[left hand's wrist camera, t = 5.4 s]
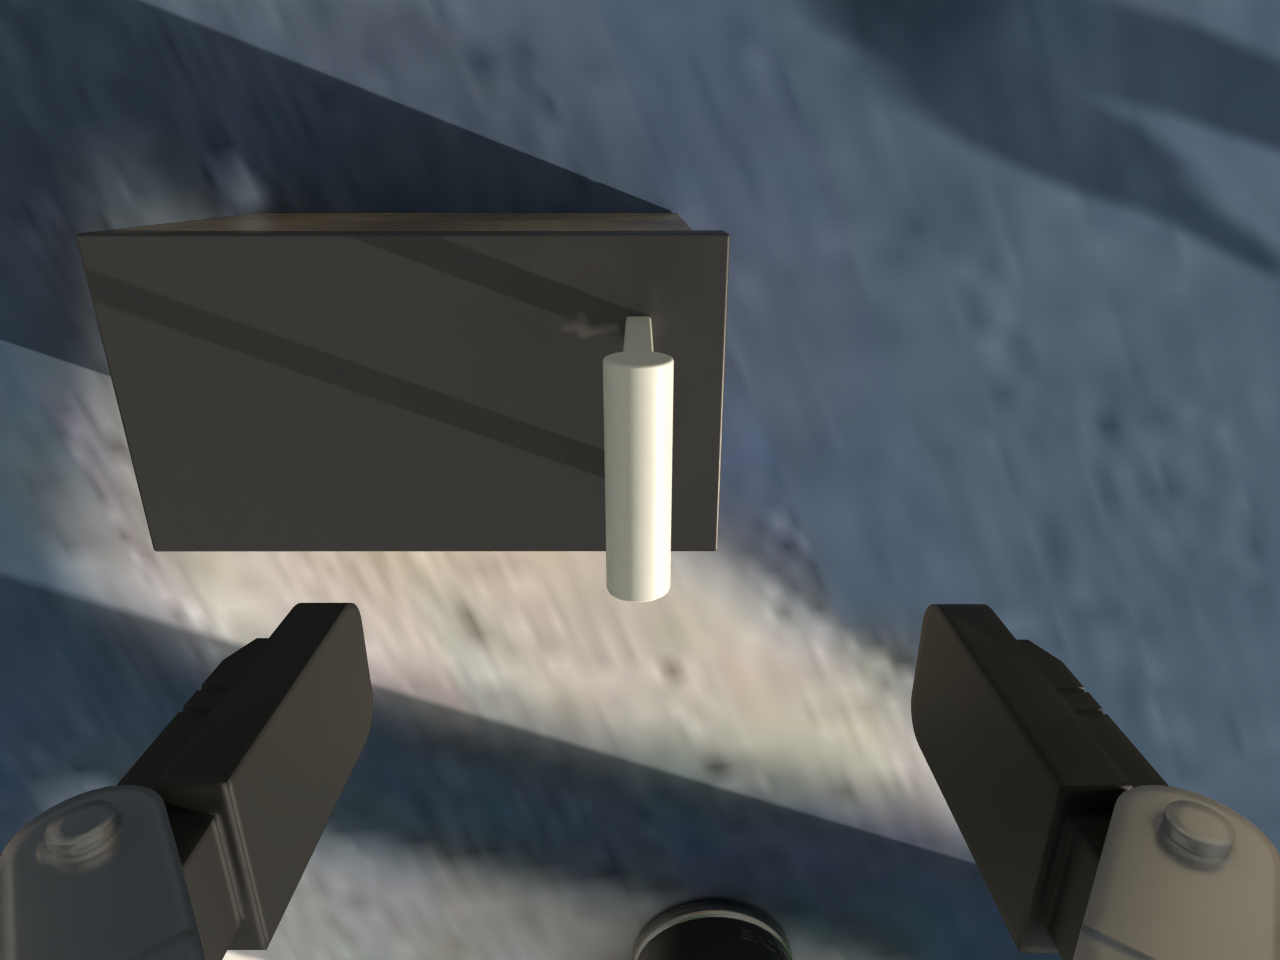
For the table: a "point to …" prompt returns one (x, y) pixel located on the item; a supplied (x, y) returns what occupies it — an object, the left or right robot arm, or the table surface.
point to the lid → (422, 389)
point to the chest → (430, 222)
